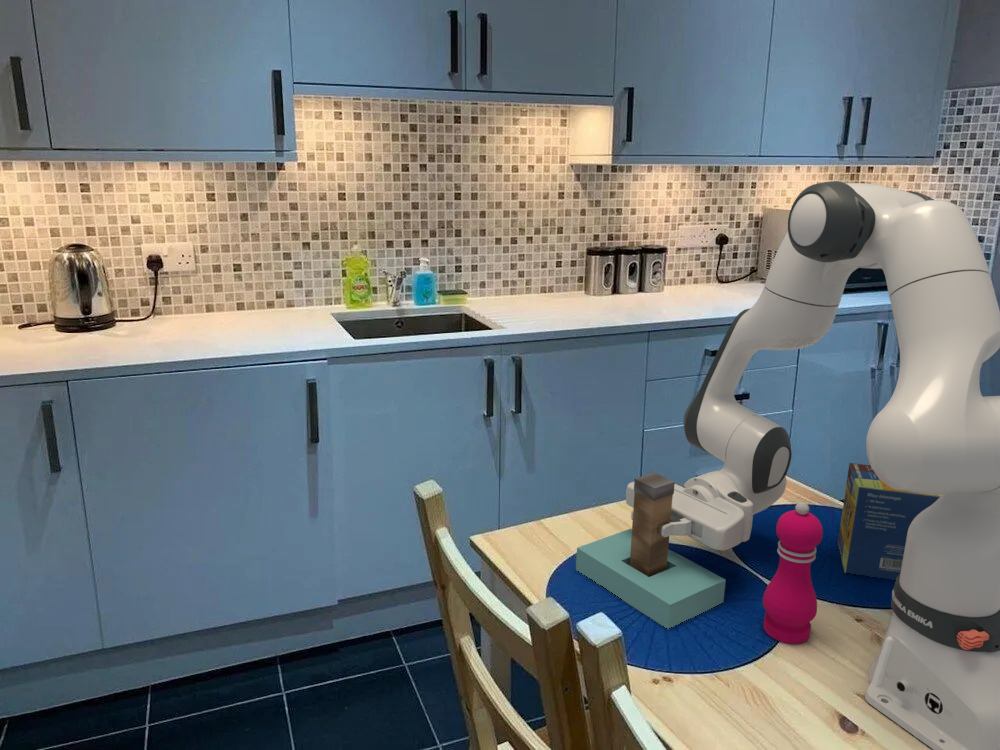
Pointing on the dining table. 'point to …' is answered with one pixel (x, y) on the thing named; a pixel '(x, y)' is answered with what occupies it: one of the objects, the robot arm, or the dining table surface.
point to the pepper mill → (793, 577)
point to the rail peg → (650, 523)
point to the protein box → (876, 523)
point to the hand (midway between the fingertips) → (647, 524)
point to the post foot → (651, 581)
